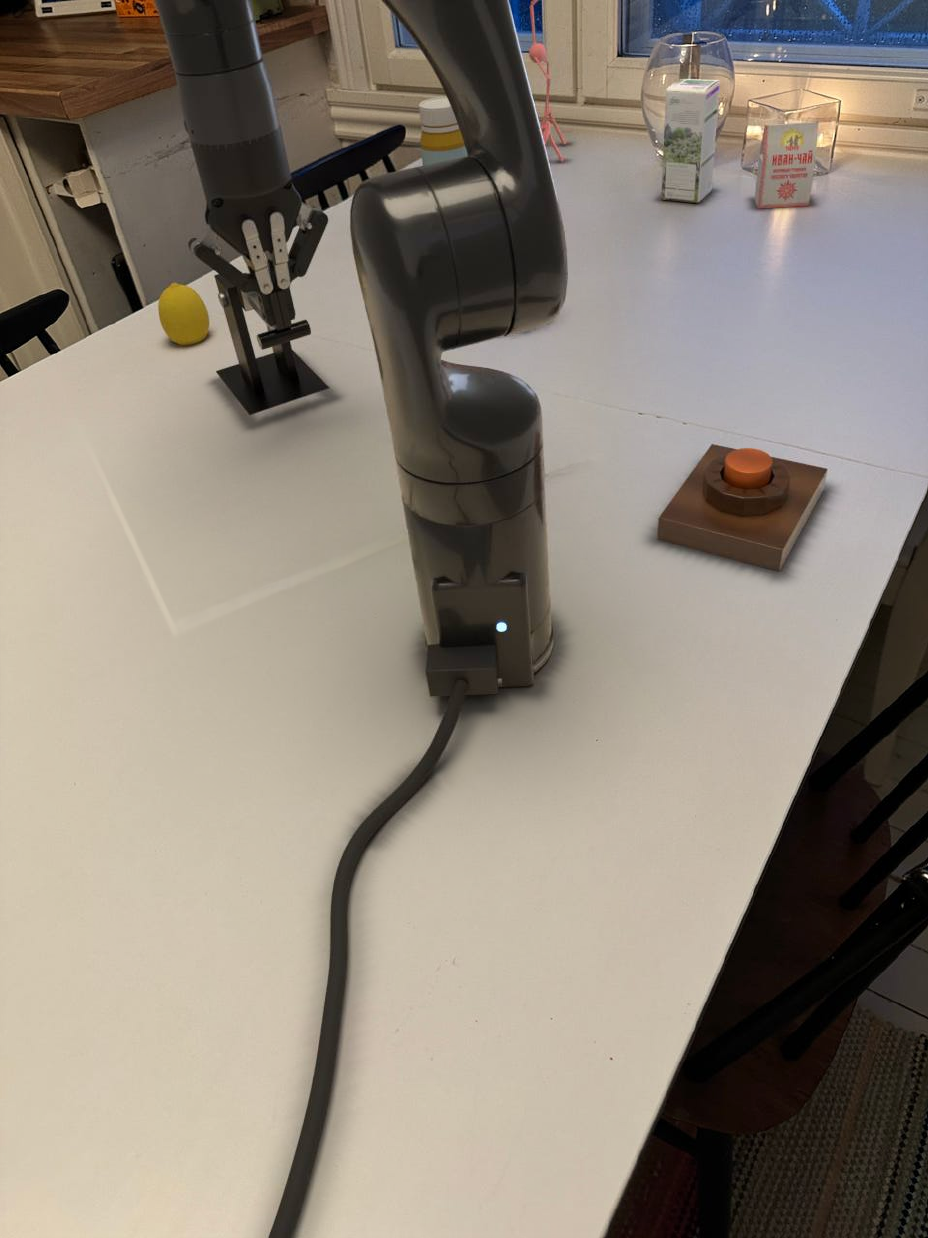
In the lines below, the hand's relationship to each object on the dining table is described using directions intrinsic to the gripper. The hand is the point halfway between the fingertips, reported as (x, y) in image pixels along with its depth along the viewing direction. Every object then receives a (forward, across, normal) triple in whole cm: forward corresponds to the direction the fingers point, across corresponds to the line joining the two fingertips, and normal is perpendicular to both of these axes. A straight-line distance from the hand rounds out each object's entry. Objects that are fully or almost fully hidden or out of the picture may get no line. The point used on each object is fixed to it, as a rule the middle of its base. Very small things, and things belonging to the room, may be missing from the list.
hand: (281, 325), depth 88 cm
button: (+7, +25, -37) cm, 45 cm away
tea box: (+11, +77, +15) cm, 79 cm away
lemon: (+11, -4, +26) cm, 29 cm away
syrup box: (+11, +69, +26) cm, 75 cm away
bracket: (+11, 0, +10) cm, 15 cm away
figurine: (+11, +63, +60) cm, 88 cm away
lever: (+1, 0, +5) cm, 5 cm away
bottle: (+11, +40, +44) cm, 61 cm away
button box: (+11, +25, -37) cm, 46 cm away
